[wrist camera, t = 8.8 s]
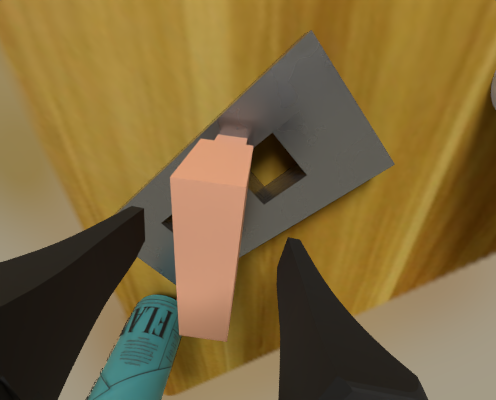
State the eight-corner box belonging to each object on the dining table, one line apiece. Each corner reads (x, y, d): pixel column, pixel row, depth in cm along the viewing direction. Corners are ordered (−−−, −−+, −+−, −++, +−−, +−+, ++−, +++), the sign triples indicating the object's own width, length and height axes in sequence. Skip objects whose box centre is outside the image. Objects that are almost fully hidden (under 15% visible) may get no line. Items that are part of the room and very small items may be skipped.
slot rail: (378, 149, 19) (394, 164, 17) (192, 268, 28) (184, 290, 25) (304, 33, 16) (311, 30, 13) (117, 210, 24) (99, 229, 22)
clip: (255, 132, 16) (246, 187, 10) (239, 253, 22) (226, 341, 15) (211, 125, 16) (170, 176, 10) (206, 249, 22) (179, 335, 15)
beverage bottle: (188, 284, 29) (74, 612, 12) (195, 318, 33) (113, 611, 15) (135, 281, 30) (-47, 594, 12) (147, 315, 33) (17, 596, 16)
